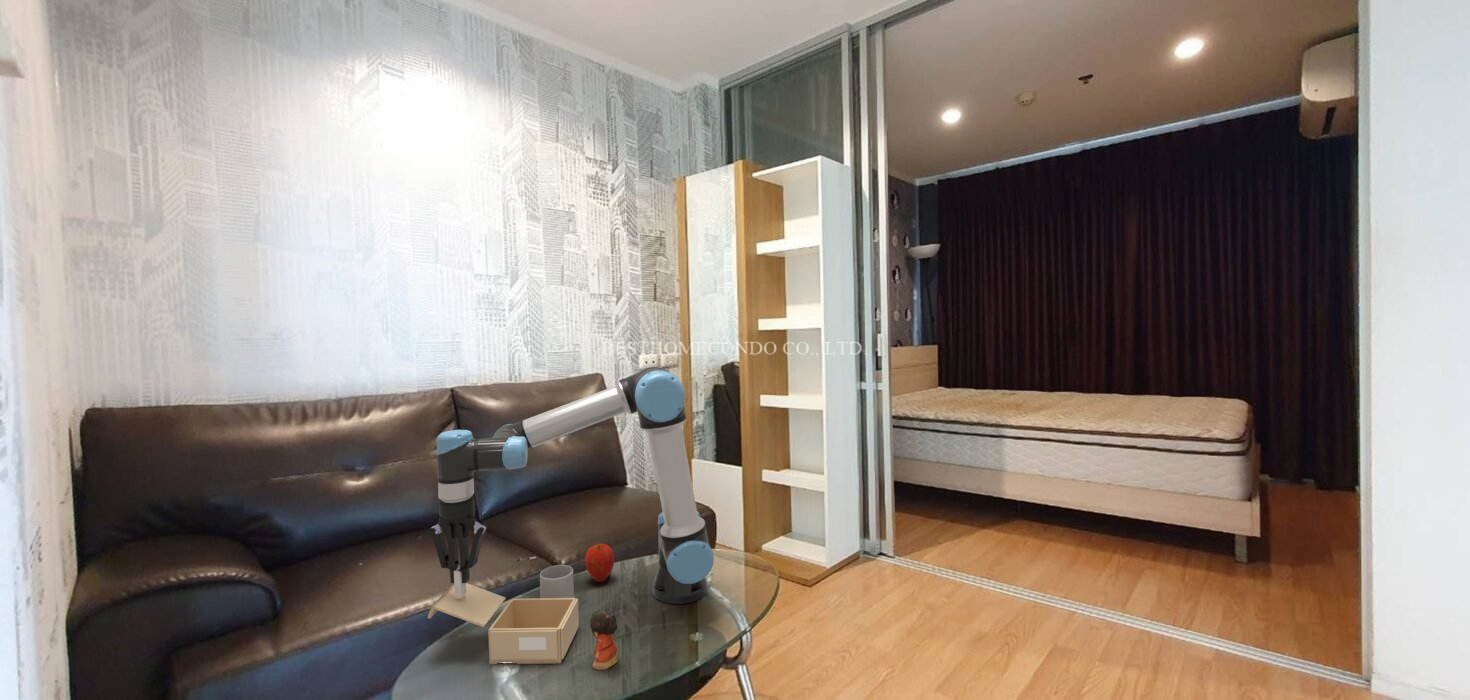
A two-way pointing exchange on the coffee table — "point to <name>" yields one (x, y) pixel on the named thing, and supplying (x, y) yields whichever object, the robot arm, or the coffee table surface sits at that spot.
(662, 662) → the coffee table surface
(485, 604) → the lid
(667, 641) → the coffee table surface
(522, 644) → the carton
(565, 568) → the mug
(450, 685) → the coffee table surface
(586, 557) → the apple
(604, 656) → the figurine
